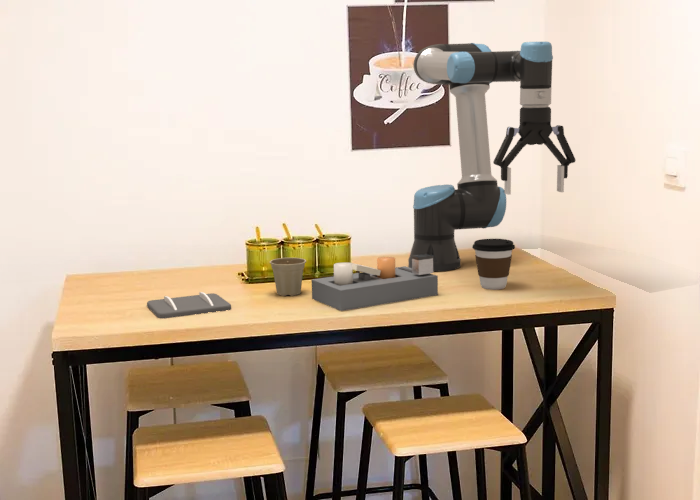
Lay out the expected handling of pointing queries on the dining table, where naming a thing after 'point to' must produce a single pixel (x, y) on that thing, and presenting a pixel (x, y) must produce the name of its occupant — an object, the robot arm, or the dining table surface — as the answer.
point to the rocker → (365, 269)
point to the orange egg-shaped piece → (386, 267)
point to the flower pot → (288, 275)
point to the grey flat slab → (188, 305)
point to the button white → (343, 274)
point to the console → (374, 289)
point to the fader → (422, 264)
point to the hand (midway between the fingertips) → (533, 192)
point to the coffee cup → (493, 262)
